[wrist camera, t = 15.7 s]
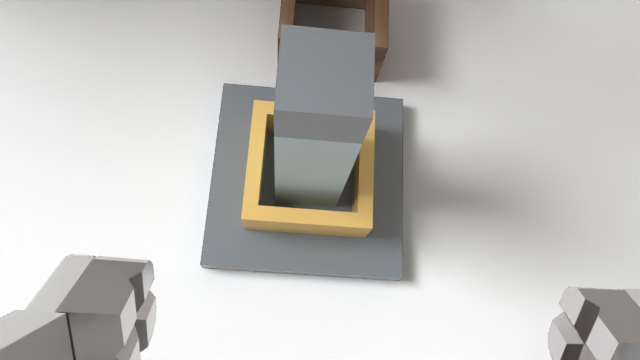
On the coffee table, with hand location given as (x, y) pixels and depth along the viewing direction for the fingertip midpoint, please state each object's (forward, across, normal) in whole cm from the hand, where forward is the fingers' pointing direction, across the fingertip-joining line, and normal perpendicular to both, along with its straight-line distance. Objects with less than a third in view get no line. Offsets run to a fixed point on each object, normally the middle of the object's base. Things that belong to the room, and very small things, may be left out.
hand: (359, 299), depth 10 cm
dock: (+26, 0, +11) cm, 28 cm away
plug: (+25, 0, +10) cm, 27 cm away
